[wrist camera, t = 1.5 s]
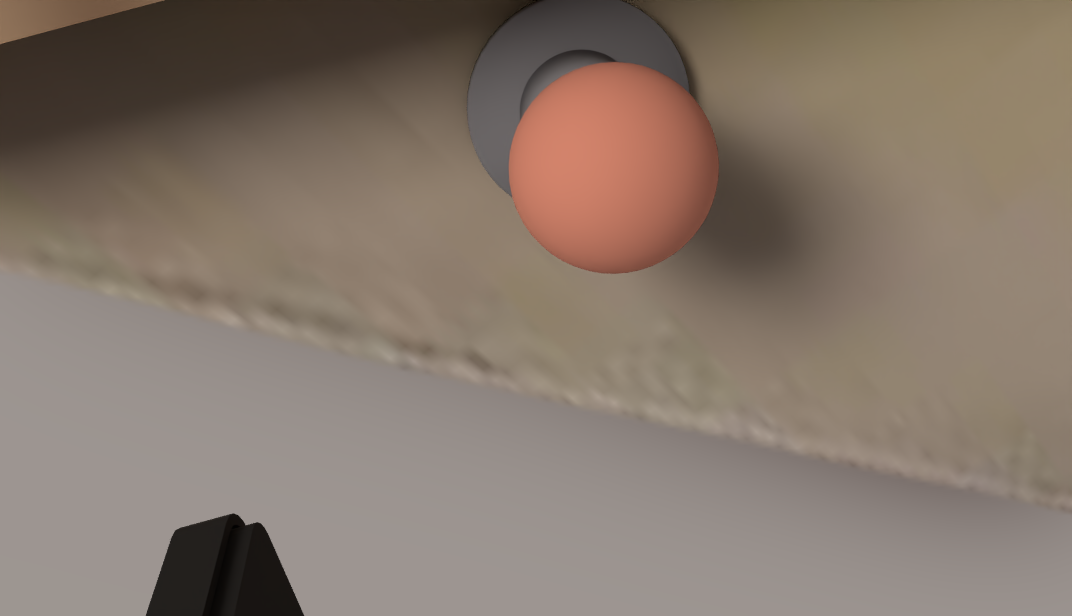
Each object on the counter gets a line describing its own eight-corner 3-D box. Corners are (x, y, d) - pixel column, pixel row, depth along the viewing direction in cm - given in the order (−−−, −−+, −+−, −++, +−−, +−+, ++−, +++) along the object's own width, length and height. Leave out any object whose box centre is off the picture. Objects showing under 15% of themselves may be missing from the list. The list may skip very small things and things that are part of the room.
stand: (664, -35, 23) (696, -17, 20) (702, 180, 25) (735, 222, 23) (440, 25, 23) (442, 50, 20) (498, 234, 25) (507, 282, 23)
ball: (672, 21, 21) (726, 61, 17) (705, 204, 22) (759, 275, 19) (479, 72, 21) (492, 123, 17) (527, 251, 22) (546, 331, 19)
